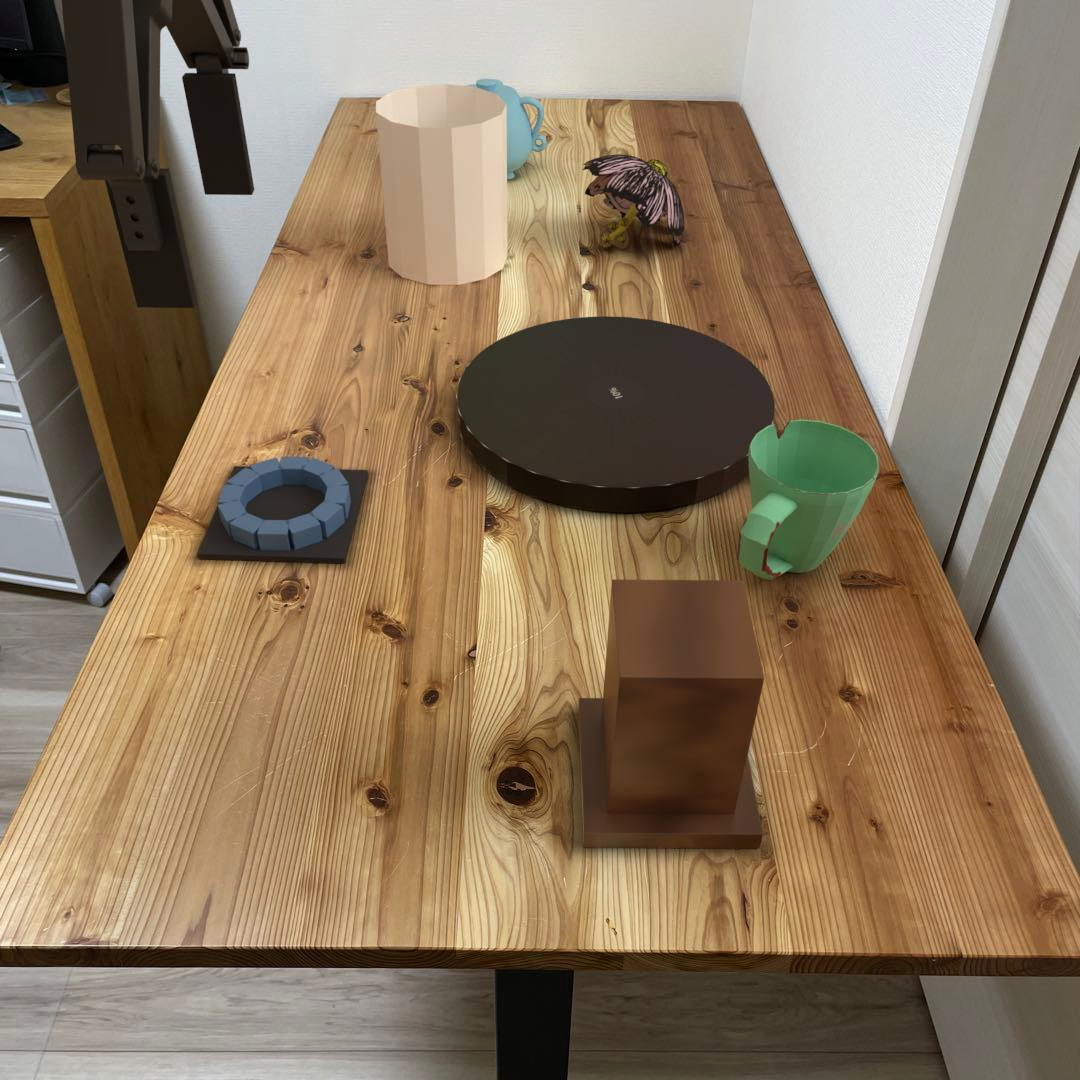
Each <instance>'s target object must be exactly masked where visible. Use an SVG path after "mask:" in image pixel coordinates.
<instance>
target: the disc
mask: <svg viewBox="0 0 1080 1080" xmlns="http://www.w3.org/2000/svg"><path fill="white" fill-rule="evenodd" d="M455 397H456V403H457V410H458V425H459V431H460V437H461V439H462V441H463V443H464V445H465V447H466V449H467V450H468V452H469V454H470V455H471V456H472V457H473V459H475V461H476V462H477V463H478V464H479V465H480V466H481V467H482V468H483V469H484V470H485V471H487V472H488V473H489V474H491V476H494V477H495V478H497V479H498V480H499V481H501V482H502V483H504V484H505V485H506V486H509V487H511V488H513V489H515V490H518V491H519V492H522V493H524V494H526V495H529V496H530V497H533V498H536V499H540V500H543V501H546V502H550V503H553V504H557V505H559V506H564V507H569V508H576V509H581V510H587V511H594V512H612V513H613V512H614V513H640V512H650V511H651V512H653V511H664V510H668V509H673V508H678V507H683V506H685V505H686V506H687V505H690V504H691V505H692V504H695V503H698V502H701V501H704V500H707V499H708V498H712V497H713V496H716V495H719V494H721V493H723V492H725V491H727V490H728V489H730V488H731V487H733V486H734V485H736V484H738V483H739V482H741V481H743V480H744V479H745V478H746V477H747V476H748V475H749V447H750V443H751V441H752V440H753V438H754V436H755V435H756V434H757V433H758V432H760V431H761V430H762V429H764V428H765V427H767V426H769V425H773V424H774V418H775V410H776V403H775V402H776V401H775V398H774V394H773V389H772V387H771V386H770V384H769V382H768V380H767V379H766V377H765V376H764V373H763V372H762V371H761V370H760V369H759V368H758V367H757V366H756V364H755V365H754V363H753V362H752V361H751V360H750V359H749V358H748V357H746V355H744V354H742V353H741V352H740V351H738V350H736V349H734V348H733V347H732V346H730V345H729V344H727V343H725V342H722V341H720V340H718V339H716V338H715V337H712V336H710V335H708V334H705V333H702V332H699V331H697V330H694V329H690V328H688V327H685V326H682V325H678V324H673V323H669V322H665V321H660V320H653V319H647V318H640V317H633V316H632V317H629V316H606V315H605V316H604V315H598V316H597V315H596V316H583V317H581V316H580V317H570V318H565V319H559V320H553V321H546V322H543V323H540V324H536V325H532V326H529V327H526V328H522V329H520V330H517V331H514V332H513V333H510V334H508V335H506V336H504V337H502V338H499V339H498V340H496V341H494V342H493V343H491V344H490V345H488V346H487V347H485V348H484V349H482V350H481V351H480V352H479V353H478V354H477V355H476V356H475V357H474V358H473V359H471V361H470V362H469V363H468V364H467V366H466V368H465V369H464V371H463V373H462V374H461V376H460V378H459V380H458V385H457V390H456V395H455Z"/></svg>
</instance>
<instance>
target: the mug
mask: <svg viewBox="0 0 1080 1080" xmlns="http://www.w3.org/2000/svg"><path fill="white" fill-rule="evenodd" d="M879 471H880V461H879V455H878V454H877V453H876V450H874V449H873V446H872V445H871V444H870V443H869V442H868V441H866V440H865V439H864V438H862V437H861V436H860V435H858V434H857V433H855V432H853V431H852V430H849V429H847V428H845V427H842V426H841V425H837V424H833V423H829V422H826V421H822V420H814V419H813V420H811V419H794V420H788V422H787V423H786V425H785V426H784V427H783V430H782V433H781V434H780V435H779V437H778V431H777V428H776V425H775V423H772V425H769V426H767V427H765V428H764V429H762V430H761V431H760V432H758V433H757V434H756V435H755V436H754V438H753V440H752V441H751V443H750V447H749V474H748V475H749V477H748V478H749V490H750V499H751V501H750V502H751V510H750V511H749V512H748V513H747V515H746V517H745V519H744V522H743V524H742V526H741V527H740V530H739V532H738V533H739V534H738V546H737V554H736V559H737V561H738V562H739V563H740V565H741V566H742V567H743V568H744V569H746V570H748V571H749V572H750V573H752V574H754V575H755V576H757V577H759V578H760V579H764V580H767V581H772V580H775V579H777V578H778V577H780V576H781V575H783V574H784V573H787V572H788V573H793V574H794V573H795V574H802V573H809V572H812V571H814V570H816V569H817V568H818V567H819V566H820V565H821V564H822V563H824V561H825V560H826V559H827V557H828V556H829V555H831V553H832V552H833V551H834V550H835V549H836V547H837V546H838V544H839V543H840V542H841V540H842V539H843V538H844V536H845V535H847V532H848V531H849V529H850V528H851V526H852V525H853V523H854V522H855V520H856V519H857V517H858V515H859V514H860V512H861V510H862V508H863V506H864V504H865V503H866V500H867V499H868V496H869V494H870V493H871V491H872V489H873V486H874V484H875V482H876V479H877V477H878V475H879Z"/></svg>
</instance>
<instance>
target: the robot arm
mask: <svg viewBox="0 0 1080 1080" xmlns="http://www.w3.org/2000/svg"><path fill="white" fill-rule="evenodd" d="M60 1H61V10H62V11H61V12H62V22H63V34H64V44H65V56H66V65H67V66H66V67H67V69H66V70H67V77H68V78H67V80H68V89H69V91H68V92H69V100H70V101H69V102H70V112H71V113H70V114H71V123H72V125H71V126H72V137H73V148H74V157H75V159H74V161H75V167H76V172H77V175H78V176H79V178H80V179H81V180H82V181H104V183H105V186H106V190H107V194H108V198H109V202H110V207H111V210H112V213H113V217H114V222H115V226H116V230H117V233H118V238H119V241H120V245H121V248H122V252H123V257H124V260H125V265H126V268H127V272H128V276H129V280H130V284H131V287H132V292H133V295H134V299H135V304H136V308H146V309H147V308H153V309H154V308H159V309H163V308H164V309H169V308H170V309H194V308H195V307H196V305H197V303H198V297H197V291H196V287H195V282H194V278H193V273H192V268H191V264H190V259H189V254H188V250H187V245H186V240H185V236H184V232H183V226H182V222H181V221H182V220H181V218H180V212H179V208H178V203H177V199H176V194H175V189H174V184H173V181H172V175H171V171H170V168H163V167H161V164H160V147H161V146H160V143H161V142H160V141H161V138H160V137H161V136H160V133H161V132H160V131H161V33H162V30H163V29H165V27H166V29H167V30H168V32H169V34H170V36H171V38H172V40H173V43H174V44H175V46H176V49H178V52H179V54H180V55H181V57H182V59H183V61H184V63H185V65H186V67H187V68H188V69H189V70H190V69H193V70H195V71H196V72H185V73H184V74H183V75H182V77H181V79H182V84H183V89H184V95H185V100H186V106H187V110H188V115H189V121H190V126H191V130H192V134H193V141H194V146H195V151H196V156H197V161H198V166H199V171H200V172H199V173H200V176H201V181H202V186H203V192H204V195H209V196H211V195H212V196H213V195H215V196H217V195H218V196H221V195H222V196H252V195H253V193H255V185H254V180H253V173H252V167H251V161H250V156H249V155H250V154H249V149H248V148H249V147H248V143H247V137H246V131H245V125H244V118H243V111H242V106H241V99H240V96H239V88H238V82H237V77H236V73H233V72H232V73H231V72H229V70H249V68H250V55H249V50H248V47H247V46H246V47H244V46H242V47H241V46H240V45H241V41H242V32H241V30H240V29H239V24H238V21H237V17H236V14H235V11H234V8H233V4H232V1H231V0H60ZM116 146H118V147H119V148H120V149H119V148H118V149H117V148H116Z"/></svg>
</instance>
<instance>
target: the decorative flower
mask: <svg viewBox="0 0 1080 1080" xmlns="http://www.w3.org/2000/svg"><path fill="white" fill-rule="evenodd" d="M582 165H583V166H584V167H583V169H582V171H585V170H588V171H589V173H591V176H593V177H595V179H593V180H592V181H591V182H590V183H589V184H588V186H587V187H586V189H585V190H584V195H586V196H589V197H593V198H594V197H595V196H597V195H602V194H603V195H604V196H605V197H606V199H608V200H609V202H608V204H610V205H612V208H611V209H612V210H617V211H618V212H619V214H620V215H621V219H620V220H619V222H618V224H617V223H616V222H615V221H609V222H608V223H607V229H608V230H609V231H611V233H610V234H609V233H604V234H602V236H601V241H602V243H601V246H602V248H603V249H604V250H609V249H611V247H612V244H611V241H612V240H614V239H616V238H617V239H616V241H617V243H618V244H625V243H626V241H627V237H626V236H625V235H624V234H621V233H623V232H624V231H625V230H626V229H627V228H628V227H629V226H630V225H631V223H632V222H633V221H634V220H635V218H637V220H638V221H639V222H640V224H641V225H642V226H643V228H644V229H649V228H652V227H654V225H656V224H657V223H658V222H660V221H661V219H662V218H665V217H666V227H667V235H668V236H669V235H672V244H673V248H675V247H678V246H680V245H681V241H682V237H683V234H684V233H685V232H684V231H685V213H684V208H683V204H682V200H681V197H680V195H679V192H678V190H677V188H676V186H675V185H674V183H673V182H672V181H671V179H669V178H668V168H667V165H666V164H665V163H663V162H662V161H661V160H659V159H650V160H648V161H645V160H644V159H642V158H639V157H637V156H634V155H629V154H620V153H619V154H618V153H616V154H609V155H603V156H598V157H595V158H593V159H590V160H587V161H585V163H583V164H582Z"/></svg>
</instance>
